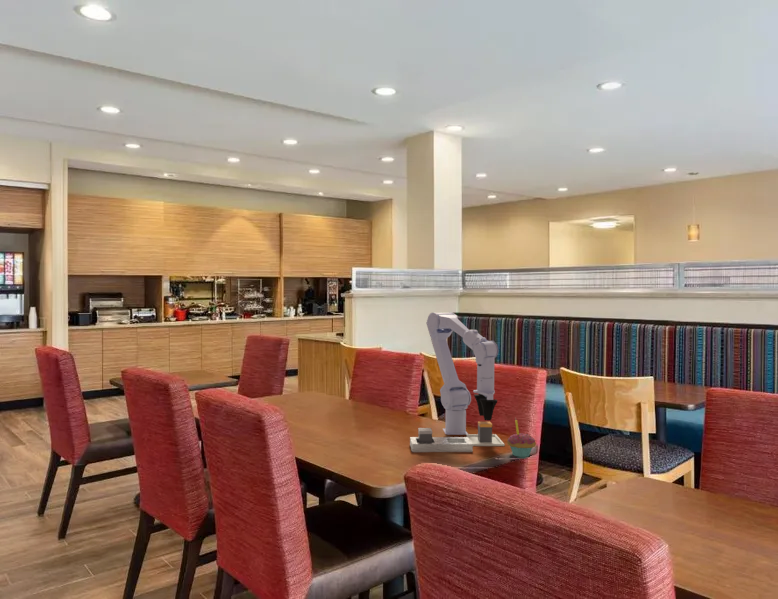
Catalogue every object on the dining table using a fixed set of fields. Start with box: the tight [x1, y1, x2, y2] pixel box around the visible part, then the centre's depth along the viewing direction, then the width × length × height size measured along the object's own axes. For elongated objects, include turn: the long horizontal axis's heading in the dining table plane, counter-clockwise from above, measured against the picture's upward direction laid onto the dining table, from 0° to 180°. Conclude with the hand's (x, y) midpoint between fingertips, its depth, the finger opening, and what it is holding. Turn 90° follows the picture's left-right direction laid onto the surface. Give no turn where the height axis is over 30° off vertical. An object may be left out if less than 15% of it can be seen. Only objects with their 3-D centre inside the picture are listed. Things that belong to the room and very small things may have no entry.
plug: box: [477, 421, 493, 442], centre depth 205 cm, size 4×4×6 cm
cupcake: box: [506, 417, 536, 460], centre depth 188 cm, size 9×8×12 cm
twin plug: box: [417, 427, 433, 443], centre depth 195 cm, size 4×4×6 cm
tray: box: [465, 433, 505, 447], centre depth 205 cm, size 13×10×1 cm
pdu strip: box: [409, 436, 474, 453], centre depth 195 cm, size 9×19×3 cm, turn 92°
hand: (485, 417), depth 205 cm, fingers open, 7 cm apart
